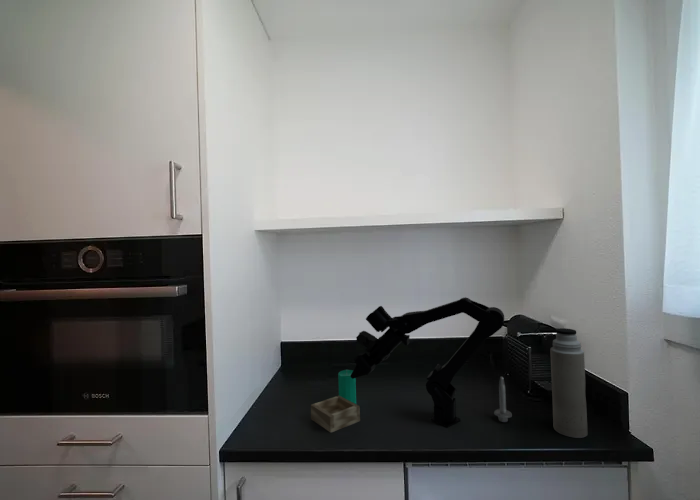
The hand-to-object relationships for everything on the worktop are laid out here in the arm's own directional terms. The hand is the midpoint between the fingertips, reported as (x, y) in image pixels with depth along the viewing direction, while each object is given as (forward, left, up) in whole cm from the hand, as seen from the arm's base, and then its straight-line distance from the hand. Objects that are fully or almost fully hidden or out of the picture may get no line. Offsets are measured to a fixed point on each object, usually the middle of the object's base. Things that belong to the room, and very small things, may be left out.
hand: (357, 372), depth 117 cm
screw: (-26, +36, -11) cm, 46 cm away
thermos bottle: (-34, +51, -11) cm, 63 cm away
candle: (+2, -4, -11) cm, 12 cm away
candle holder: (+12, +3, -11) cm, 16 cm away
